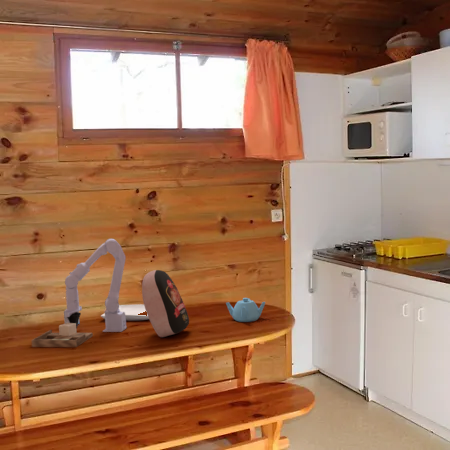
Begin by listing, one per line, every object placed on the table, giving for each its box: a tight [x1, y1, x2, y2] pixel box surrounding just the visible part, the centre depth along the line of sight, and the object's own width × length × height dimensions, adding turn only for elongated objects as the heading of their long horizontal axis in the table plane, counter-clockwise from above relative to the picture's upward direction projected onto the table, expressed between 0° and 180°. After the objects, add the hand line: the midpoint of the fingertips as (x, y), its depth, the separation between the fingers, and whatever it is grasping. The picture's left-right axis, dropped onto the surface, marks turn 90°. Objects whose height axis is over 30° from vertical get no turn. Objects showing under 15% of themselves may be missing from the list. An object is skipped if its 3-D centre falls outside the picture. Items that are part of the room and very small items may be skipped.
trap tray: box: [31, 329, 94, 348], centre depth 265 cm, size 21×18×3 cm
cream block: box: [58, 322, 78, 336], centre depth 271 cm, size 6×6×4 cm
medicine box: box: [63, 310, 80, 325], centre depth 294 cm, size 8×4×9 cm, turn 168°
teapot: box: [225, 297, 266, 323], centre depth 291 cm, size 15×15×11 cm
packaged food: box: [141, 269, 190, 338], centre depth 268 cm, size 22×20×30 cm
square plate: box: [100, 303, 149, 321], centre depth 311 cm, size 27×27×4 cm
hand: (74, 328), depth 277 cm, fingers closed
